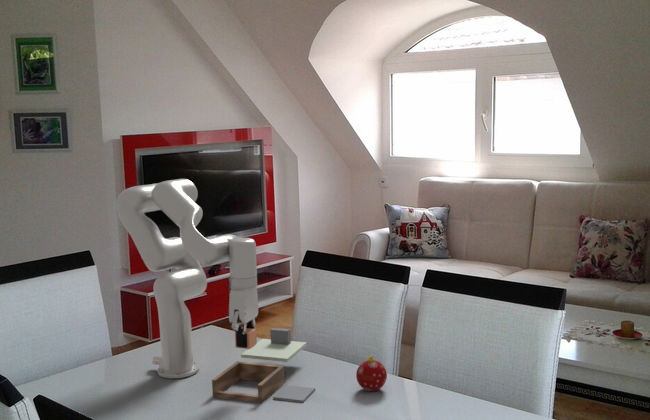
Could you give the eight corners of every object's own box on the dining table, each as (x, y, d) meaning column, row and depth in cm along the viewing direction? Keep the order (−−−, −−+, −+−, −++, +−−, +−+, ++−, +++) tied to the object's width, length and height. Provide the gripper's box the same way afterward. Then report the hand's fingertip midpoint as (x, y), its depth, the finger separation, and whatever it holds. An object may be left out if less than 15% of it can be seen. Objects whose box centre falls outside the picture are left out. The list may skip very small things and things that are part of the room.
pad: (273, 399, 198) (273, 396, 198) (286, 386, 207) (286, 384, 206) (303, 402, 195) (303, 400, 195) (315, 390, 203) (315, 388, 203)
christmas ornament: (350, 391, 201) (349, 357, 200) (367, 382, 208) (366, 348, 207) (376, 398, 196) (375, 363, 195) (392, 388, 203) (392, 354, 202)
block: (235, 347, 203) (234, 332, 202) (242, 342, 207) (242, 327, 206) (249, 349, 201) (249, 333, 201) (256, 344, 205) (256, 329, 205)
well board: (212, 396, 201) (211, 379, 201) (238, 377, 215) (237, 361, 215) (262, 402, 196) (261, 385, 195) (284, 382, 210) (284, 365, 209)
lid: (241, 357, 217) (240, 340, 216) (262, 341, 231) (261, 325, 231) (287, 362, 212) (286, 344, 211) (306, 345, 226) (306, 328, 225)
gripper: (245, 274, 210) (247, 333, 213) (217, 288, 195) (220, 352, 198) (268, 275, 208) (270, 336, 211) (242, 290, 192) (244, 355, 195)
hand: (246, 343), depth 204 cm, fingers closed on block, 4 cm apart
